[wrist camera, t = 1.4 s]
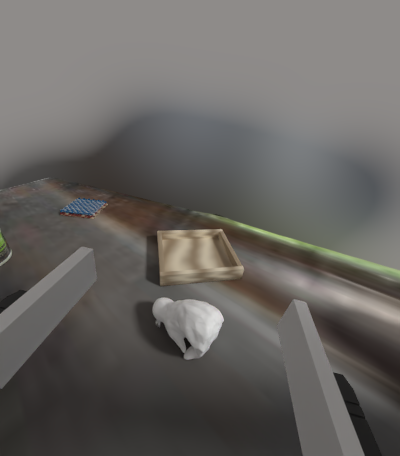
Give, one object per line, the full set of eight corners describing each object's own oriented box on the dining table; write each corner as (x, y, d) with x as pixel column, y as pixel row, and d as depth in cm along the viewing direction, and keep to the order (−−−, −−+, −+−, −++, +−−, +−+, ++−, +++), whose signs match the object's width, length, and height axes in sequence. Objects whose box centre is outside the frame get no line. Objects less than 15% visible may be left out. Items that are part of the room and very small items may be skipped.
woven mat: (58, 217, 57) (56, 211, 56) (78, 202, 67) (77, 196, 65) (93, 221, 58) (92, 215, 57) (109, 205, 67) (108, 200, 66)
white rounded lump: (206, 340, 23) (137, 293, 28) (203, 376, 27) (143, 329, 33) (230, 303, 27) (166, 270, 33) (224, 339, 32) (168, 304, 37)
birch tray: (220, 237, 57) (221, 229, 55) (241, 278, 44) (244, 269, 42) (157, 240, 52) (157, 230, 51) (160, 286, 39) (160, 275, 38)
